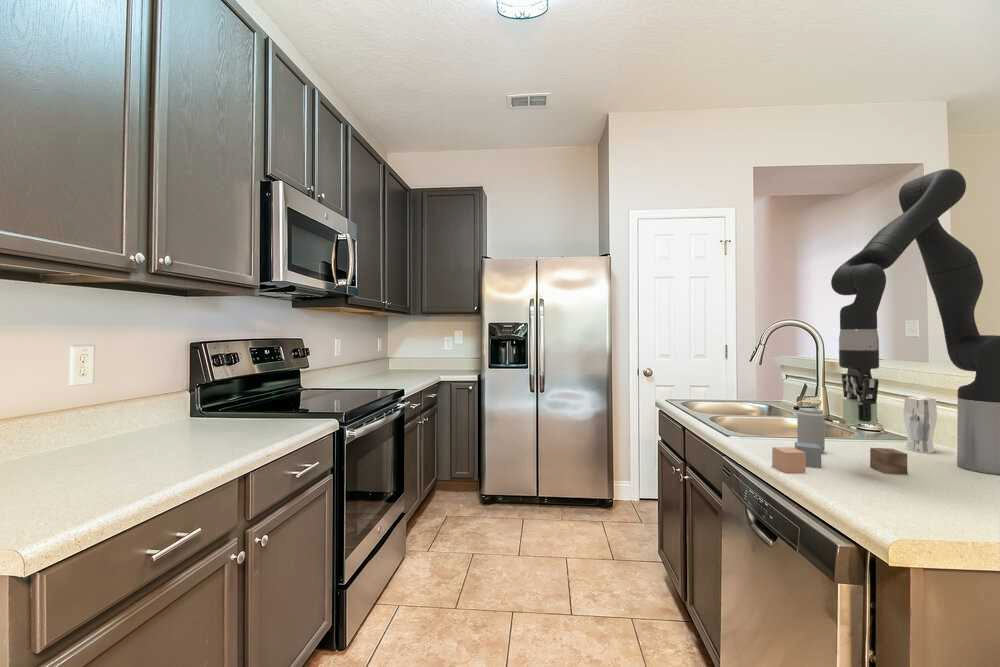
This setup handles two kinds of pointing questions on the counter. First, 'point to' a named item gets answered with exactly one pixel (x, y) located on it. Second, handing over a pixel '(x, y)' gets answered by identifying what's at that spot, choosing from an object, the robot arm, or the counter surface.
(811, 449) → the slate cube
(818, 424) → the beverage can
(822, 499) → the counter surface
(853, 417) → the sage cube
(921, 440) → the beer glass
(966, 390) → the robot arm
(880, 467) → the walnut cube
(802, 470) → the terracotta cube
